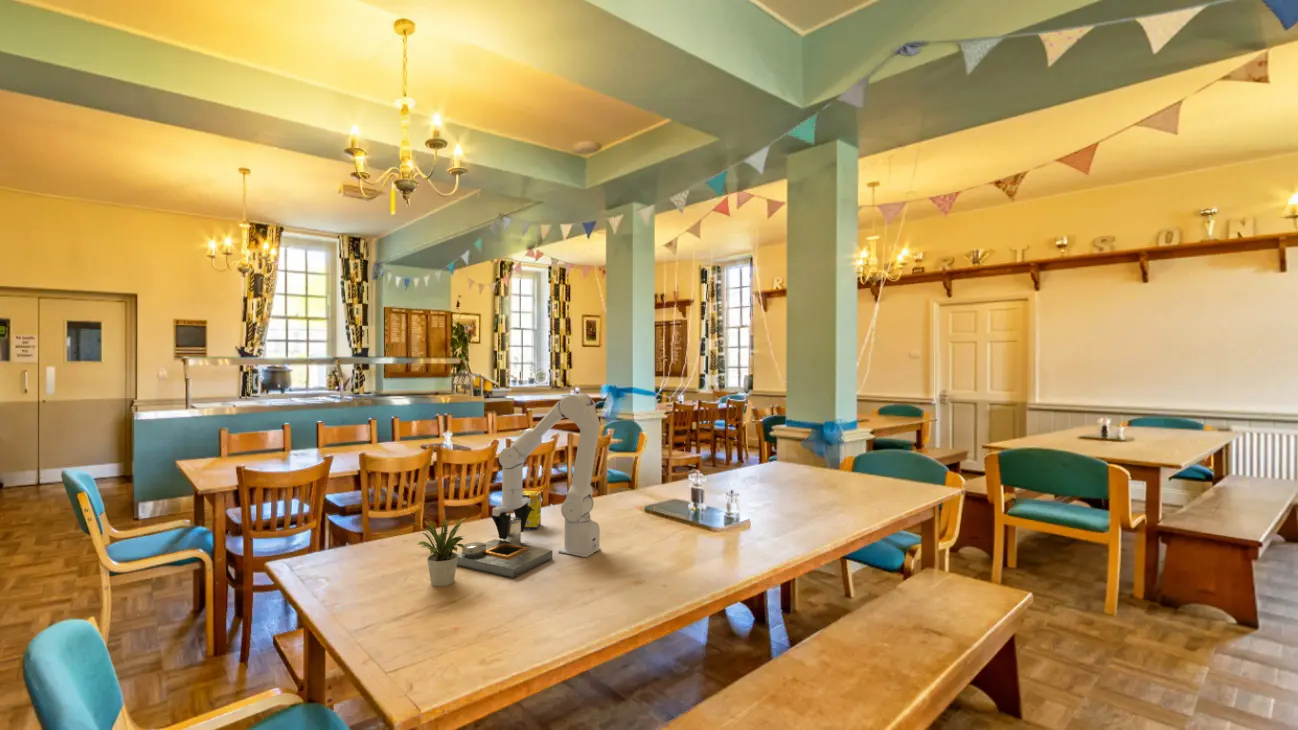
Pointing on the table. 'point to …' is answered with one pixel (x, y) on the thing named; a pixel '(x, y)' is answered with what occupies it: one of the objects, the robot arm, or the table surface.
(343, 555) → the table surface
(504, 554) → the grey block with opening
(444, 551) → the house plant
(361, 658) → the table surface
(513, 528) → the spout can
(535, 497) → the supplement box
